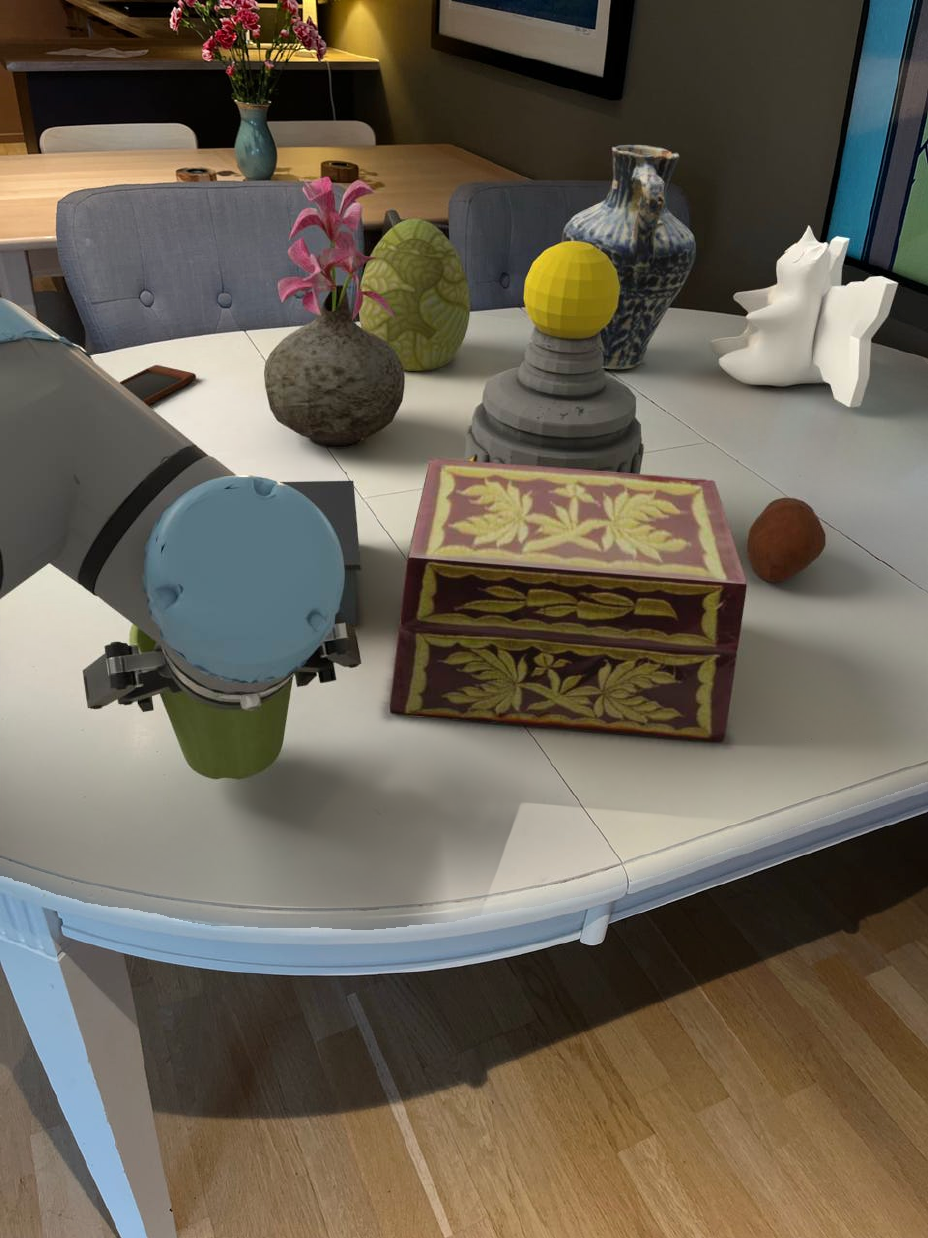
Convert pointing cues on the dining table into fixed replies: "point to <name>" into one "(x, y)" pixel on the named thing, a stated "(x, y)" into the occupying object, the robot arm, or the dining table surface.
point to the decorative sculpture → (417, 295)
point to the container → (338, 529)
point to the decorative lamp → (562, 376)
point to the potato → (784, 539)
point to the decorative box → (570, 601)
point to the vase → (332, 338)
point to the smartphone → (156, 382)
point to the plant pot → (223, 729)
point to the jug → (637, 248)
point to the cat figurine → (809, 324)
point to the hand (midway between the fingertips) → (224, 680)
